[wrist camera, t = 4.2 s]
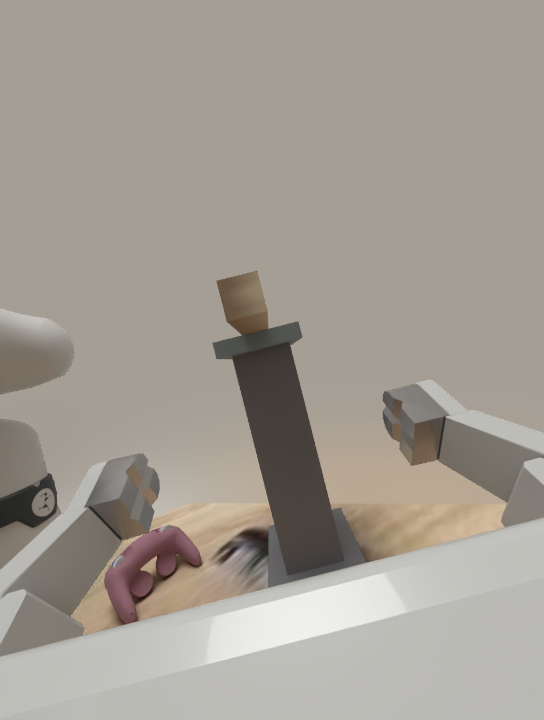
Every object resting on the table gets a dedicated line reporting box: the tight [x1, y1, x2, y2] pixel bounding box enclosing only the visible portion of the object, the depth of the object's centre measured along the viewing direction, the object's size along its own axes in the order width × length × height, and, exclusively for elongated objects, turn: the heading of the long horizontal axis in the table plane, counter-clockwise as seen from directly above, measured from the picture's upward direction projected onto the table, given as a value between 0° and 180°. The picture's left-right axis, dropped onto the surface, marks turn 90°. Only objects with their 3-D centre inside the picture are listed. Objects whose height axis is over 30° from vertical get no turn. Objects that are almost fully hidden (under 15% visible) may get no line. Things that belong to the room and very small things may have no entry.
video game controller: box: [104, 525, 201, 624], centre depth 33 cm, size 10×5×7 cm, turn 142°
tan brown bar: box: [217, 271, 268, 335], centre depth 27 cm, size 2×22×2 cm, turn 1°
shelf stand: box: [213, 322, 367, 588], centre depth 31 cm, size 10×12×26 cm
